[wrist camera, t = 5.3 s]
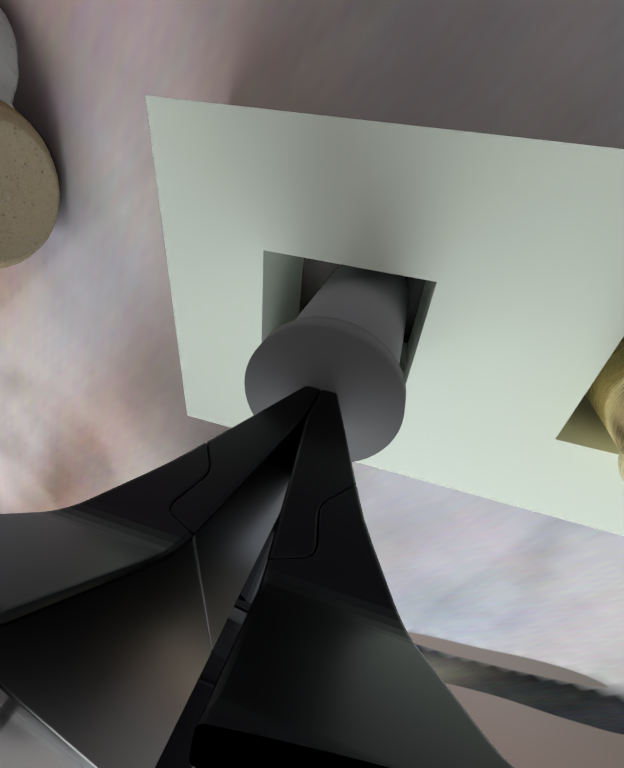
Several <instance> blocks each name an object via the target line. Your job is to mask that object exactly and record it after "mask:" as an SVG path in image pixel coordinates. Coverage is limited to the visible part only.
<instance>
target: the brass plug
mask: <svg viewBox="0 0 624 768" xmlns="http://www.w3.org/2000/svg"><path fill="white" fill-rule="evenodd" d="M585 395H586V396H587V398H588V400H589V401H590V403H591V405H592V406H593V408H594V409H595V411H596V413H597V414H598V416H599V418H600V419H601V421H602V423H603V424H604V426H605V428H606V429H607V431H608V433H609V434H610V436H611V437H612V439H613V441H614V442H615V444H616V446H617V447H618V449H619V451H620V453H619V456H618V469H619V473H620V476H621V478H622V480H623V482H624V337H623V338H622V340H621V341H620V343H619V344H618V346H617V347H616V349H615V350H614V352H613V353H612V355H611V356H610V358H609V359H608V361H607V362H606V364H605V365H604V367H603V368H602V370H601V371H600V373H599V374H598V376H597V377H596V379H595V380H594V382H593V383H592V385H591V386H590V388H589V389H588V391H587V392H586V394H585Z"/></svg>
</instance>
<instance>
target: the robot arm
mask: <svg viewBox="0 0 624 768" xmlns="http://www.w3.org/2000/svg"><path fill="white" fill-rule="evenodd" d="M0 768H514V767H513V766H512V765H511V764H510V763H508V762H507V761H506V760H505V759H504V758H503V756H502V755H501V754H500V753H499V752H498V751H497V750H496V748H495V747H494V746H493V745H492V744H491V743H490V741H489V740H488V739H487V737H486V736H485V735H484V734H483V732H482V731H481V730H480V728H479V727H478V726H477V724H476V723H475V722H474V721H473V719H472V718H471V717H470V715H469V714H468V713H467V711H466V710H465V709H464V708H463V707H462V705H461V704H460V702H459V701H458V700H457V698H456V697H455V696H454V695H453V693H452V692H451V691H450V689H449V688H448V687H447V686H446V684H445V683H444V682H443V680H442V679H441V678H440V676H439V675H438V674H437V672H436V671H435V670H434V669H433V667H432V666H431V665H430V663H429V662H428V661H427V659H426V658H425V657H424V656H423V654H422V653H421V652H420V650H419V649H418V648H417V646H416V645H415V644H414V642H413V641H412V639H411V637H410V636H409V634H408V633H407V631H406V629H405V627H404V625H403V623H402V621H401V618H400V616H399V614H398V611H397V609H396V606H395V604H394V601H393V599H392V596H391V593H390V590H389V588H388V585H387V582H386V580H385V577H384V574H383V571H382V569H381V566H380V563H379V561H378V558H377V555H376V552H375V550H374V547H373V544H372V541H371V538H370V535H369V532H368V529H367V526H366V523H365V520H364V516H363V512H362V508H361V504H360V500H359V495H358V490H357V487H356V482H355V477H354V472H353V467H352V462H351V457H350V452H349V448H348V443H347V438H346V433H345V428H344V423H343V419H342V414H341V409H340V404H339V399H338V395H337V394H336V393H334V392H330V391H326V390H322V391H320V389H318V388H314V387H310V386H304V387H302V388H301V389H299V390H297V391H295V392H294V393H292V394H290V395H288V396H287V397H285V398H283V399H281V400H280V401H278V402H276V403H274V404H273V405H271V406H269V407H267V408H266V409H264V410H262V411H260V412H259V413H257V414H255V415H253V416H252V417H250V418H248V419H246V420H244V421H243V422H241V423H239V424H237V425H236V426H234V427H232V428H230V429H229V430H227V431H225V432H223V433H222V434H220V435H218V436H216V437H215V438H213V439H211V440H209V441H208V442H207V443H204V444H202V445H200V446H199V447H197V448H195V449H193V450H192V451H190V452H188V453H186V454H184V455H182V456H180V457H179V458H177V459H175V460H173V461H171V462H169V463H167V464H165V465H163V466H161V467H159V468H157V469H154V470H152V471H150V472H148V473H146V474H144V475H142V476H139V477H137V478H135V479H133V480H131V481H128V482H126V483H124V484H122V485H120V486H117V487H115V488H113V489H111V490H109V491H106V492H104V493H102V494H100V495H98V496H95V497H93V498H91V499H89V500H86V501H84V502H81V503H79V504H76V505H73V506H70V507H67V508H62V509H58V510H53V511H46V512H32V513H11V514H0Z"/></svg>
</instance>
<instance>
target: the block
mask: <svg viewBox="0 0 624 768" xmlns="http://www.w3.org/2000/svg"><path fill="white" fill-rule="evenodd" d="M145 98H146V105H147V113H148V121H149V128H150V136H151V143H152V151H153V159H154V166H155V174H156V182H157V189H158V197H159V204H160V212H161V220H162V227H163V235H164V242H165V250H166V258H167V265H168V273H169V281H170V288H171V296H172V303H173V311H174V319H175V326H176V334H177V341H178V349H179V357H180V364H181V372H182V380H183V387H184V395H185V402H186V410H187V416H191V417H194V418H198V419H201V420H205V421H209V422H212V423H216V424H219V425H223V426H227V427H230V428H232V427H234V426H236V425H237V424H239V423H241V422H243V421H244V420H246V419H248V418H250V417H252V416H253V413H252V411H251V409H250V407H249V404H248V402H247V398H246V394H245V385H244V381H245V372H246V368H247V365H248V362H249V360H250V358H251V356H252V355H253V353H254V351H255V350H256V349H257V348H258V347H259V346H260V345H261V343H262V342H263V341H264V340H265V339H266V338H267V336H268V335H269V334H270V333H272V332H273V331H274V330H275V329H276V328H278V327H280V326H281V325H283V324H285V323H287V322H290V321H292V320H295V319H296V318H297V317H298V316H299V308H300V296H301V284H302V272H303V261H304V258H309V259H314V260H320V261H325V262H331V263H336V264H342V265H347V266H352V267H358V268H363V269H369V270H374V271H380V272H385V273H391V274H396V275H402V276H407V277H413V278H418V279H423V280H426V282H425V286H424V289H423V293H422V297H421V300H420V304H419V307H418V311H417V314H416V318H415V321H414V325H413V328H412V332H411V335H410V339H409V342H408V343H406V342H403V344H402V350H401V357H400V363H399V365H400V367H401V370H402V372H403V375H404V379H405V384H406V403H405V412H404V418H403V422H402V425H401V427H400V430H399V432H398V433H397V435H396V437H395V438H394V439H393V441H392V442H391V443H390V444H389V445H388V446H387V447H385V448H384V449H383V450H382V451H380V452H379V453H377V454H375V455H373V456H371V457H369V458H366V459H363V460H360V461H355V462H357V463H361V464H364V465H368V466H371V467H375V468H379V469H382V470H386V471H389V472H393V473H397V474H400V475H404V476H408V477H411V478H415V479H418V480H422V481H426V482H429V483H433V484H436V485H440V486H444V487H447V488H451V489H455V490H458V491H462V492H465V493H469V494H473V495H476V496H480V497H483V498H487V499H491V500H494V501H498V502H502V503H505V504H509V505H512V506H516V507H520V508H523V509H527V510H531V511H534V512H538V513H541V514H545V515H549V516H552V517H556V518H559V519H563V520H567V521H570V522H574V523H578V524H581V525H585V526H588V527H592V528H596V529H599V530H603V531H606V532H610V533H614V534H617V535H621V536H624V482H623V480H622V478H621V476H620V473H619V469H618V456H619V453H620V451H619V449H618V447H617V446H616V444H615V442H614V441H613V439H612V437H611V436H610V434H609V433H608V431H607V429H606V428H605V426H604V424H603V423H602V421H601V419H600V418H599V416H598V414H597V413H596V411H595V409H594V408H593V406H592V405H591V403H590V401H589V400H588V398H587V396H586V395H585V394H586V392H587V391H588V389H589V388H590V386H591V385H592V383H593V382H594V380H595V379H596V377H597V376H598V374H599V373H600V371H601V370H602V368H603V367H604V365H605V364H606V362H607V361H608V359H609V358H610V356H611V355H612V353H613V352H614V350H615V349H616V347H617V346H618V344H619V343H620V341H621V340H622V338H623V337H624V149H619V148H610V147H601V146H592V145H583V144H574V143H565V142H556V141H547V140H538V139H529V138H521V137H512V136H503V135H494V134H485V133H476V132H467V131H458V130H449V129H440V128H431V127H423V126H414V125H405V124H396V123H387V122H378V121H369V120H360V119H351V118H342V117H334V116H325V115H316V114H307V113H298V112H289V111H280V110H271V109H262V108H253V107H244V106H236V105H227V104H218V103H209V102H200V101H191V100H182V99H173V98H164V97H155V96H147V95H145Z"/></svg>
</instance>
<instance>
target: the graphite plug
mask: <svg viewBox="0 0 624 768" xmlns="http://www.w3.org/2000/svg"><path fill="white" fill-rule="evenodd" d="M408 306H409V291H408V287H407V284H406V281H405V279H404V278H403V276H402V275H396V274H391V273H385V272H380V271H374V270H369V269H363V268H358V267H352V266H347V265H342V264H341V265H340V266H339V267H337V268H336V269H335V271H334V272H333V273H332V274H331V275H330V277H329V278H328V279H327V280H326V282H325V283H324V284H323V285H322V287H321V288H320V289H319V290H318V292H317V293H316V294H315V295H314V297H313V298H312V299H311V301H310V302H309V303H308V304H307V306H306V307H305V308H304V309H303V311H302V312H301V313H300V314H299V316H298V317H297V318H296V319H295V320H292V321H290V322H287V323H285V324H283V325H281V326H280V327H278V328H276V329H275V330H274V331H273V332H272V333H270V334H269V335H268V336H267V338H266V339H265V340H264V341H263V342H262V343H261V345H260V346H259V347H258V348H257V349H256V350H255V351H254V353H253V355H252V356H251V358H250V360H249V362H248V365H247V368H246V372H245V381H244V385H245V394H246V398H247V402H248V404H249V407H250V409H251V411H252V413H253V415H255V414H257V413H259V412H260V411H262V410H264V409H266V408H267V407H269V406H271V405H273V404H274V403H276V402H278V401H280V400H281V399H283V398H285V397H287V396H288V395H290V394H292V393H294V392H295V391H297V390H299V389H301V388H302V387H304V386H310V387H314V388H318V389H320V391H322V390H326V391H330V392H334V393H336V394H337V395H338V399H339V404H340V409H341V414H342V419H343V423H344V428H345V433H346V438H347V443H348V448H349V452H350V457H351V462H355V461H360V460H363V459H366V458H369V457H371V456H373V455H375V454H377V453H379V452H380V451H382V450H383V449H384V448H385V447H387V446H388V445H389V444H390V443H391V442H392V441H393V439H394V438H395V437H396V435H397V433H398V432H399V430H400V427H401V425H402V422H403V418H404V412H405V403H406V384H405V379H404V375H403V372H402V370H401V367H400V365H399V363H400V357H401V350H402V344H403V338H404V331H405V325H406V319H407V312H408Z"/></svg>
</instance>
